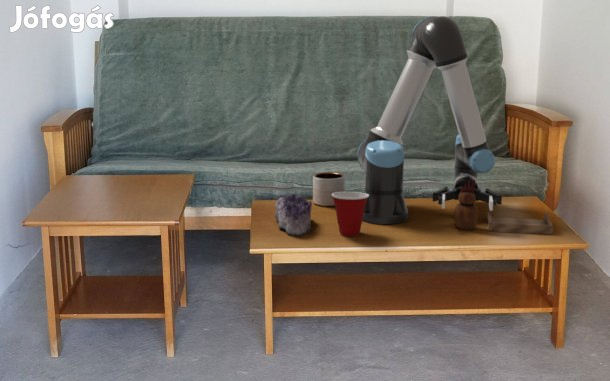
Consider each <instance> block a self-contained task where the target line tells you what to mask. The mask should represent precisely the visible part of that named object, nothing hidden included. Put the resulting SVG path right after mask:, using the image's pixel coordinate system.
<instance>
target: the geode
mask: <svg viewBox="0 0 610 381" xmlns="http://www.w3.org/2000/svg"><path fill="white" fill-rule="evenodd" d="M312 206H313V202H312V200H311V201H309V200H307V199H305V198H303V197H302V196H301V195H297V194H290V195H287V196H285V197H284V196H283V197H279V198H278V199H277V201H276V203H274V208H275V212H274V213H275V214H274V217H275V219H276V220H277V221H278V223H277V224H278V228H279V229H281V230H284V231H285V232H286V235H287V236H293V237H302V236H304V235H306V234H309V233H310V232H311V226H312V225H311V222H312V214H311V213H312Z"/></svg>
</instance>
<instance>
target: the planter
mask: <svg viewBox="0 0 610 381" xmlns="http://www.w3.org/2000/svg"><path fill="white" fill-rule="evenodd" d="M345 177H346V175H345V174H344V173H340V172H334V171H333V172H332V171H330V172H329V171H328V172H325V171H324V172H318V173H314V174H313V175H312V203H314V204H315V205H316V204H317V205H316V206H319V205H320V207H326V206H331V207H335V204H334V199H333V197H332V193H336V192H346V189H345V188H346V178H345Z"/></svg>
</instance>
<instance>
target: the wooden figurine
mask: <svg viewBox="0 0 610 381" xmlns="http://www.w3.org/2000/svg"><path fill="white" fill-rule="evenodd" d="M474 187H475V179H474V181H473V184H472V187H471V189H470V181H468V187H466V184H465V187H464V188H463V186H462V189H461V192H460V193H459V197H458V198H459V200H458V202H459V203H457V204H456V206H455V207H454V212H453V213H454V214H453V218H454V223H455V225H456V227H457V228H458V229H460V230H464V231H469V230H473V229H475V227H476V225H477V222H478V218H479V208H478V206H477V205H476V202H477V201H476V196H475V194H474Z"/></svg>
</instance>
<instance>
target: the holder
mask: <svg viewBox="0 0 610 381" xmlns="http://www.w3.org/2000/svg"><path fill="white" fill-rule="evenodd" d="M491 212H492V211H490V210H487V214H486V215H487V218H486V221H487V225H488V232H497V233H500V232H501V233H521V234H535V235H536V234H539V235H553V233H554V232H553V230H554V225H553V224H552V221H551V219H550V217H549V215H548V213H544V214H543V216H544V217H543V219H536V218H535V219H533V218H509V217H492V213H491Z"/></svg>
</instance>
